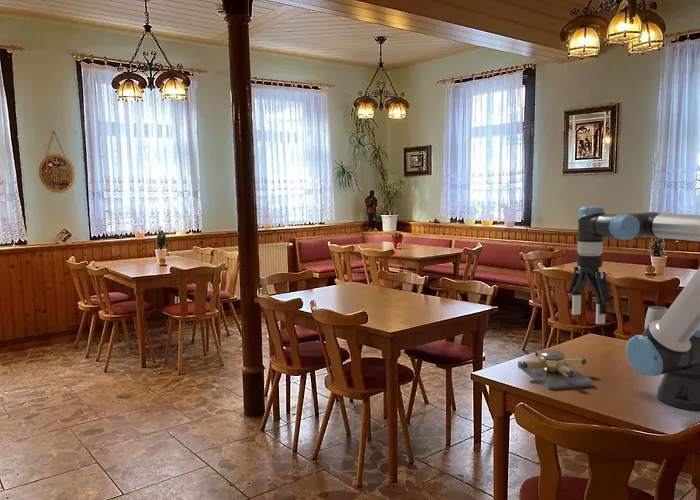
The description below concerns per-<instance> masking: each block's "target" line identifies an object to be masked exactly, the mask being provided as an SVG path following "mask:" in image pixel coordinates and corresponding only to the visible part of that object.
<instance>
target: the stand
mask: <svg viewBox="0 0 700 500" xmlns="http://www.w3.org/2000/svg"><path fill="white" fill-rule="evenodd" d="M535 360H540V359H539V358H537V357H535ZM535 360H534V361H535ZM524 361H525V360H524ZM524 361H517V367H518V368H519V369H520V370H521V369H522V370H521V371H522V372H524V373H525V372H526V374H527V375H528V376H529V377H531V378H532V379H534V380H535V382H537V383H539V384H541V385H542V386H543V387H545V388H546V389H547V390H556V389H557V390H558V389H560V390H561V389H570V388H571V389H572V388H587V387H593V379H591V378H589V377H588V376H586V375H584V374H582V372H580V371H578V370H576V369H575V368H573V367H572V366H566V367H568V368H570V369H571V370H572V371H573V372H574V376H573V377H572V378H569V377H567V376H565V375H563V374H562V373H552V372H548V371H545V370H544V369H543V368H535V369H523V368H521V366H520V364H521V362H524Z"/></svg>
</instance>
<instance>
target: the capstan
mask: <svg viewBox="0 0 700 500" xmlns="http://www.w3.org/2000/svg"><path fill="white" fill-rule="evenodd" d="M534 355H535V356H536V358H539V359H540V360H524V362H521V364H520V366H521V368H523V369H535V368H543V369H544V370H545V371H548V372H552V373H562V374H563V375H565V376H567V377H569V378H572V377H573V376H574V372H573V371H572V370H571V369H570V368H568V367H566V366H570V367H578V366H579V367H580V366H581V367H582V366H585V365H587V359H586V358H584V357H571V358H568V357H567V358H565V353H564V352H562V351H558V350H555V349H543V350H536V351H535V352H534Z"/></svg>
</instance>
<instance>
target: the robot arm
mask: <svg viewBox="0 0 700 500" xmlns="http://www.w3.org/2000/svg"><path fill="white" fill-rule="evenodd" d="M577 223H578V224H577V226H578V227H577V232H578V233H577V251H576V252H577V253H578V255H577V257H576V263H577V264H576V265H577V266H574V268H573V274H572V278H571V280H570V283H569V286H568V290H567V291H568V293H570V295H571V296H572V297H571V299H572V301H571V302H572V303H571V307H572V308H571V311H572V312H571V314H572V315H573V316H575V315H581V311H582V291H583V289H584V287H585V286H586V284H588V285H589V286H591V288H592V291H593V293H594V295H595V298H596V300H597V302H596V303H595V304H596V306H595V307H596V308H595V324H596V325H605V324H606V314H607V304H610V303H612V298H611V293H610V291H609V286H608V282H607V279H606V276H607V275H606V274H607V273H606V271H600V269H599V268H601V267H603V256H602V254H603V251H604V249H603V245H604V243H603V242H604V238H608V239H615V240H616V239H617V240H620V241H622V240H624V241H625V240H633V239H634V238H645V237H646V238H654V239H655V238H657V239H658V238H660V239H661V238H662V239H669V240H670V239H671V240H681V241H682V240H683V241H692V242H700V214H685V213H684V214H683V213H682V214H681V213H666V212H664V213H661V212H654V211H647V212H637V213H636V212H634V213H605V208H604V207H603V206H581V207H580V208H579V209H578V218H577ZM667 309H668V310H667V312H666V313H665V314H664V316H663V317H662V318H661V320H657V321H653V322H651V323H650V324H649V326H648V327H647V328H646V330H645V329H644V331H643V332H642V334H637V335H636V334H635V335H634V336H632V337H631V338H629V339H628V341H627V343H626V346H625V353H626V356H627V360H628V362H629V364H630V366H631V367H632V368H633V370H635V371H636V372H637V373H638V374H640V375H642V376H645V377H657V376H660V375H663V377H662V379H661V381H660V384H659V386H658V387H657V392H656V397H657V399H658V400H659V401H661V403H664V404H666V405H669V406H672V407H675V408H679V409H682V410H683V409H684V410H688V411H700V266H699V267H698V269H697V271H695V273H694V274H693V275H692V277H691V278H690V279H689V281H688V282H687V284H686V285H685V286H684V288H682V290H681V292H680V293H679V294H678V296H676V298H675V300H674V301H673V302H672V303H671V305H670V306H669V308H667Z"/></svg>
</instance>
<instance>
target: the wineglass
mask: <svg viewBox="0 0 700 500" xmlns="http://www.w3.org/2000/svg"><path fill="white" fill-rule="evenodd" d="M668 309H669V308H666V307H664V306H648V309H647V310H646V316H645V321H644V331H645V330H646V328H647V327H648V326H649V324H650V323H651V322H653V321H657V320H661V318H662V317H663V316H664V314H665V313H666V312H667V310H668Z"/></svg>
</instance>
